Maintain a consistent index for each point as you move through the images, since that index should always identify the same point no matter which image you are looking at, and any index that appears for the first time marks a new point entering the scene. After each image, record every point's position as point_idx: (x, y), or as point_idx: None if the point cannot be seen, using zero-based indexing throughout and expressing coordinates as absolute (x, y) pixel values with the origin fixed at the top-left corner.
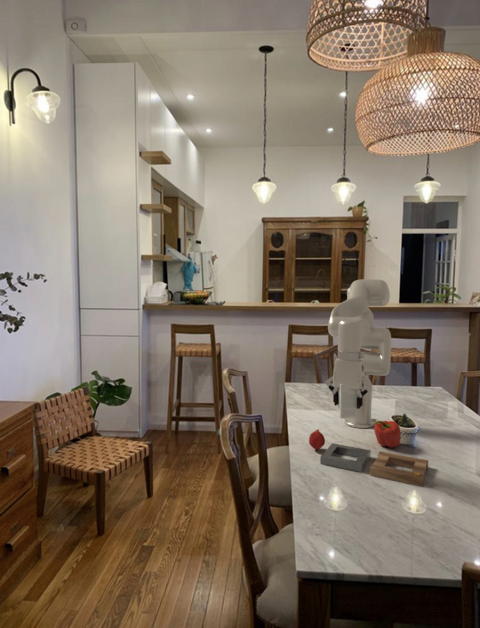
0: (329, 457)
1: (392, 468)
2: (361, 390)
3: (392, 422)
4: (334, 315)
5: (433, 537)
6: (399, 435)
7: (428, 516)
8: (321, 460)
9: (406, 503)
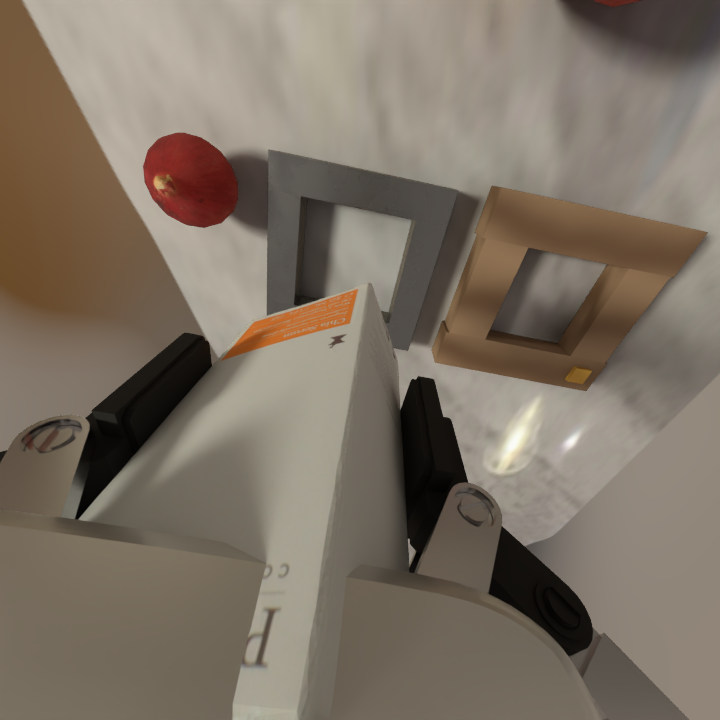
0: None
1: (509, 349)
2: (474, 586)
3: None
4: None
5: (508, 518)
6: None
7: (525, 478)
8: None
9: (496, 451)
